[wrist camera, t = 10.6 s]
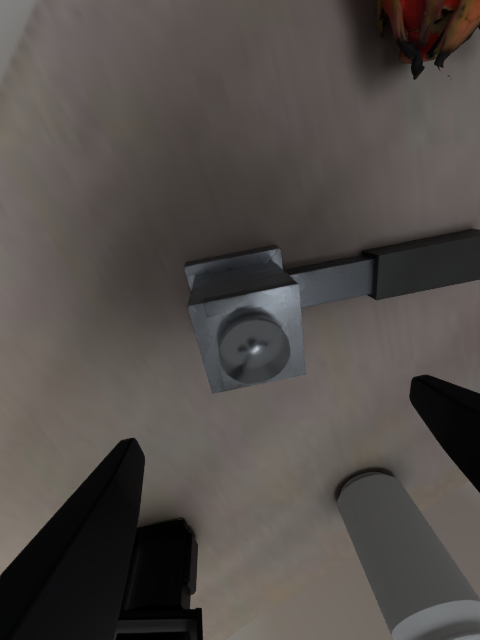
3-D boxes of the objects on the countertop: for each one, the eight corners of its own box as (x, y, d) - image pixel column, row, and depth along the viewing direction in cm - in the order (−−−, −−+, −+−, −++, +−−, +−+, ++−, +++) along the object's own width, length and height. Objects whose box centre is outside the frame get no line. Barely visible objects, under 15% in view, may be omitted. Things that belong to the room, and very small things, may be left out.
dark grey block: (212, 345, 18) (212, 407, 12) (194, 277, 15) (184, 315, 10) (281, 331, 18) (312, 386, 12) (273, 261, 16) (306, 290, 10)
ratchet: (206, 339, 19) (205, 376, 15) (186, 262, 16) (177, 280, 12) (459, 289, 19) (525, 311, 15) (477, 205, 17) (562, 205, 13)
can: (323, 506, 30) (388, 680, 19) (350, 463, 27) (445, 639, 16) (377, 510, 31) (466, 673, 20) (408, 469, 28) (531, 634, 17)
